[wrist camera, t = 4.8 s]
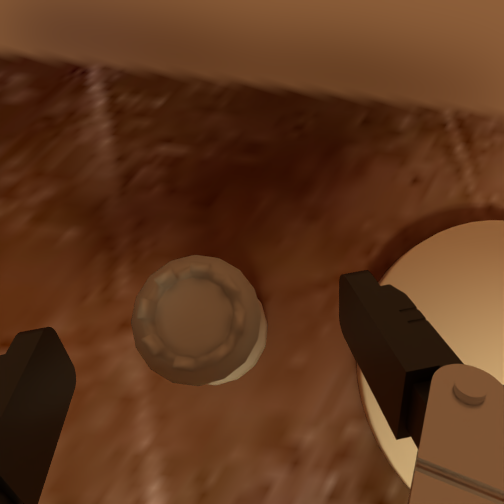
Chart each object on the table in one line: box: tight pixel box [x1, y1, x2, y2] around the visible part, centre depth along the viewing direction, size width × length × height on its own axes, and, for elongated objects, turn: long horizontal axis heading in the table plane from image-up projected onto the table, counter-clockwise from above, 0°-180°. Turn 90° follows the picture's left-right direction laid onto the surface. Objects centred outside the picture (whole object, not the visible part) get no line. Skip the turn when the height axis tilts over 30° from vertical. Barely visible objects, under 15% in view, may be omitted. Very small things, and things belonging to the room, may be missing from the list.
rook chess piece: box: [131, 255, 268, 386], centre depth 12 cm, size 4×4×8 cm
